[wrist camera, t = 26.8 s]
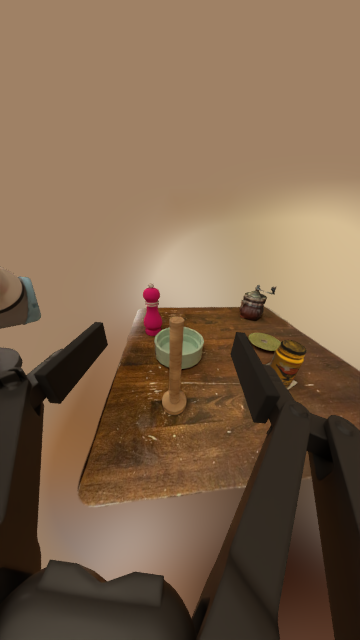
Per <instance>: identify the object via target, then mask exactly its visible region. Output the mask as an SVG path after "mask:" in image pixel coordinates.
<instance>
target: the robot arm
mask: <svg viewBox="0 0 360 640" xmlns="http://www.w3.org/2000/svg"><path fill="white" fill-rule="evenodd" d="M40 318H41V313H40V310H39V306H38V303H37V299H36V296H35V292H34V289H33V286H32V282H31V280H30V279H29V278H27V277H17V276H16V275H15V274H14V273H12V272H10V271H9V270H7V269H5V268H2V267H0V329H1V328H6V327H11V326H16V325H21V324H23V325H25V324H27V323H30V322H35V321H38V320H39V319H40ZM107 345H108V344H107V339H106V335H105V331H104V326H103V323H101V322H95V323H94V324H92V325H91V326H90V327H89V328H88V329H87V330H85V331H84V332H83V333H82V334H81V335H79V336H78V337H77V338H76V339H75V340H73V341H72V342H71V343H70V344H69V345H67V346H66V347H65V348H64V349H60V350H58V351H56V352H54V353H53V354H52V355H51V356H49V358H47V359H46V360H44V362H42V363H41V364H40V365H38V366H37V367H36V368H35V369H34V370H32V371H31V372H30V373H29V374H28V375H25V373H24V371H23V370H22V368H20V367H14V368H9V369H7V370H4V371H2V372H0V640H279V639H280V637H279V629H278V609H279V603H280V597H281V592H282V586H283V580H284V575H285V569H286V563H287V558H288V552H289V546H290V541H291V535H292V529H293V524H294V518H295V512H296V507H297V501H298V495H299V489H300V484H301V478H302V473H303V467H304V461H305V456H306V451H308V454H309V461H310V468H311V475H312V482H313V489H314V496H315V503H316V510H317V517H318V524H319V531H320V538H321V545H322V552H323V559H324V566H325V573H326V580H327V588H328V595H329V602H330V609H331V616H332V622H333V629H334V637H335V640H360V431H359V430H358V429H357V428H356V427H355V426H354V425H353V424H352V423H351V422H349V421H348V420H346V419H344V418H342V417H340V416H337V415H331V416H330V417H328V419H325V418H322V417H320V416H317V415H314V414H312V413H310V412H309V411H308V410H307V409H306V408H305V407H304V406H303V405H302V404H300V403H298V402H296V401H295V400H294V399H293V397H292V396H291V394H290V393H289V391H288V390H287V388H286V386H285V385H284V383H283V382H282V380H281V379H280V377H279V376H278V374H277V372H276V371H275V370H274V369H273V368H272V367H271V366H270V365H264V364H262V363H261V361H260V359H259V357H258V356H257V354H256V352H255V350H254V349H253V347H252V345H251V343H250V342H249V340H248V338H247V336H246V335H245V333H241V332H236V335H235V339H234V343H233V347H232V351H231V357H232V360H233V363H234V366H235V369H236V372H237V375H238V378H239V381H240V384H241V387H242V389H243V392H244V395H245V398H246V401H247V404H248V407H249V410H250V413H251V416H252V419H253V422H256V423H266V422H267V420H268V418H269V420H270V423H271V426H270V428H269V430H268V431H267V433H266V434H267V436H266V438H265V441H264V443H263V446H262V448H261V451H260V453H259V456H258V458H257V461H256V463H255V466H254V468H253V471H252V473H251V476H250V478H249V481H248V483H247V486H246V488H245V491H244V493H243V496H242V498H241V501H240V503H239V506H238V508H237V511H236V513H235V516H234V518H233V521H232V523H231V525H230V528H229V530H228V533H227V536H226V538H225V540H224V543H223V546H222V548H221V550H220V553H219V555H218V558H217V560H216V562H215V565H214V567H213V569H212V571H211V573H210V575H209V577H208V579H207V582H206V584H205V587H204V589H203V591H202V594H201V596H200V599H199V602H198V604H197V606H196V609H195V611H194V614H193V616H192V618H191V617H190V614H189V612H188V610H187V608H186V606H185V604H184V602H183V600H182V599H181V597H180V596H179V594H178V593H177V592H176V590H175V589H174V588H173V587H172V586H171V585H170V584H169V583H167V582H166V581H165V580H164V576H161V575H154V574H148V573H140V572H133V573H130V574H127V575H124V576H122V577H119V578H116V579H113V580H111V581H108V582H107V581H106V580H105V579H103V578H102V577H101V576H100V575H99V574H97V573H96V572H95V571H93V570H91V569H88V568H86V567H84V566H81V565H79V564H77V563H70V562H62V561H56V560H50V561H49V563H48V565H47V567H46V568H44V569H42V570H41V552H40V546H39V543H38V539H37V522H38V505H39V486H40V468H41V450H42V431H43V413H44V404H43V401H44V399H45V398H46V397H47V399H48V401H49V402H50V403H58V404H60V403H61V402H62V401H63V400H64V399H65V397H66V396H67V395H68V393H69V392H70V391H71V390H72V389H73V388H74V386H75V385H76V384H77V383H78V381H79V380H80V379H81V378H82V376H83V375H84V374H85V372H86V371H87V370H88V369H89V368H90V366H91V365H92V364H93V363H94V361H95V360H96V359H97V358H98V356H99V355H100V354H101V353H102V352H103V350H104V349H105V348H106V347H107Z"/></svg>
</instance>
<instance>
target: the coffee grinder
mask: <svg viewBox="0 0 360 640" xmlns="http://www.w3.org/2000/svg"><path fill="white" fill-rule="evenodd" d="M259 287H260V285H257V287H256V290H255V291H252V292H248V293H245V296H244V298H243V300H242V302H241V307H240V312H241V316H240V317H242V318H247V319H250V320H257V319H258V318H259V317H260V316H261V315H262V313H263V307H264V305H263V304H265V301H266V299H267V297H266V296H264V295H263V294H260V292H259V290H260V288H259ZM275 289H276V287H272V288H271V290H272V292H273V293H270V292H267V293H270V294H274V292H275ZM260 291H263V290H260ZM263 292H265V291H263Z"/></svg>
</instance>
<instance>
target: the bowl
mask: <svg viewBox="0 0 360 640" xmlns="http://www.w3.org/2000/svg"><path fill="white" fill-rule="evenodd" d="M169 340H170V328H166V329H163V330H162V331H160V332H159V333H158V334H157V335H156V336H155V355H156V358H157V360H158V361H159V362H160V363H161V364H163V365H165V366H167V367H169ZM203 344H204V340H203V337H202V336H201V335H200V334H199V333H198V332H197V331H195V330H193V329H190V328H186V327H184V330H183V348H182V366H181V369H185V368H189V367H192V366H194V365H196V364H197V363H198V362H199V361H200V359H201V357H202V351H203Z"/></svg>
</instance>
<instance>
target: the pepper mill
mask: <svg viewBox="0 0 360 640" xmlns="http://www.w3.org/2000/svg"><path fill="white" fill-rule="evenodd" d="M153 287H154V285H153V284H149V288H147V289H145V290H144V292H143V297H144V299H145V300H146V301H145V305H146V306H147V313H146V316H145V318H144V326H145V327H146V334H147V335H150V336H156V335H157V334H158V333H159V332H160V331H161V327H160V326H161V325H162V319H161V316H160V314H159V312H158V305H159V303H158V302H159V301H158V299H159V297H160V293H159V291H158V290H157V289H156V288H153Z"/></svg>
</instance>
